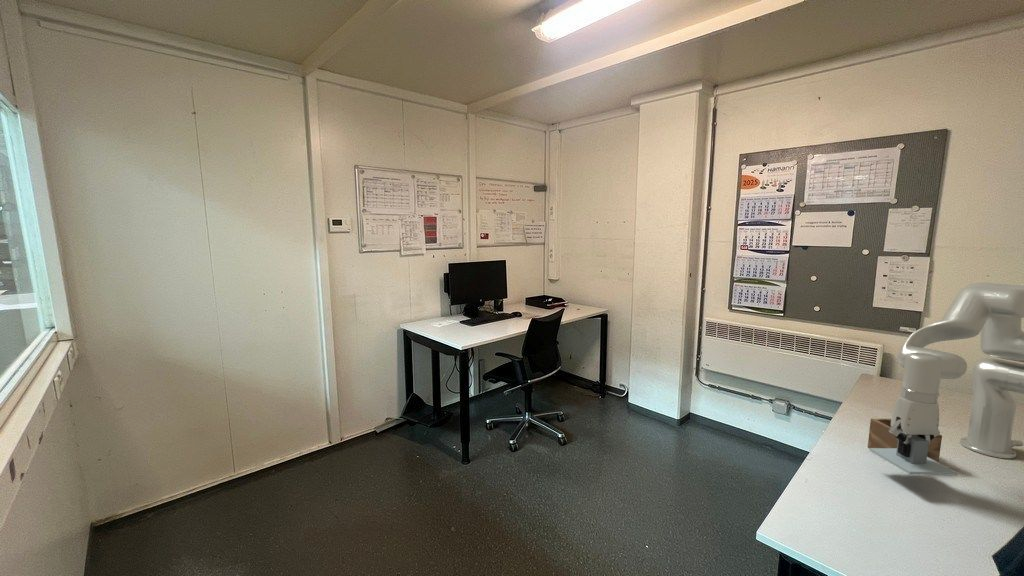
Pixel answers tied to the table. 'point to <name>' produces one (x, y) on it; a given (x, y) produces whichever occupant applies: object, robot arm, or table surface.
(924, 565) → the table surface
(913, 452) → the lid
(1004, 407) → the robot arm
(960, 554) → the table surface
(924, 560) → the table surface
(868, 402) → the table surface
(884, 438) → the box
